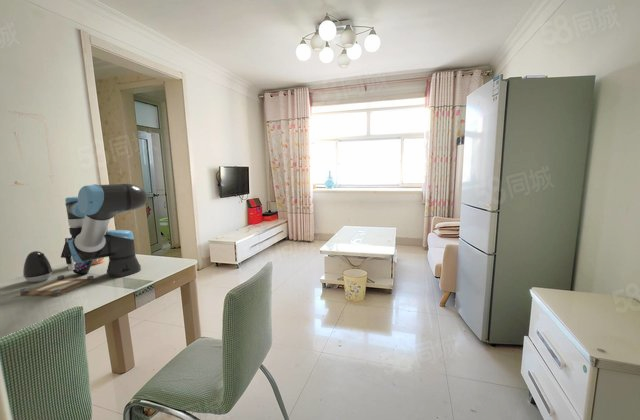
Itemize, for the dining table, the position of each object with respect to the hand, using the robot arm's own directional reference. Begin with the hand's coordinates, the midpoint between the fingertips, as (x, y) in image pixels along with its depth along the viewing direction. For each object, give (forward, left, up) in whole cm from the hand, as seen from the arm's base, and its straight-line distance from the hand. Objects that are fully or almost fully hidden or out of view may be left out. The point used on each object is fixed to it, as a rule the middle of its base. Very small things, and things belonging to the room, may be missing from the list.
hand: (83, 265), depth 148 cm
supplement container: (0, 0, -5) cm, 5 cm away
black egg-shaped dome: (+15, +10, -5) cm, 19 cm away
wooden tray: (-5, +18, -5) cm, 19 cm away
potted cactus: (+12, -18, -5) cm, 22 cm away
